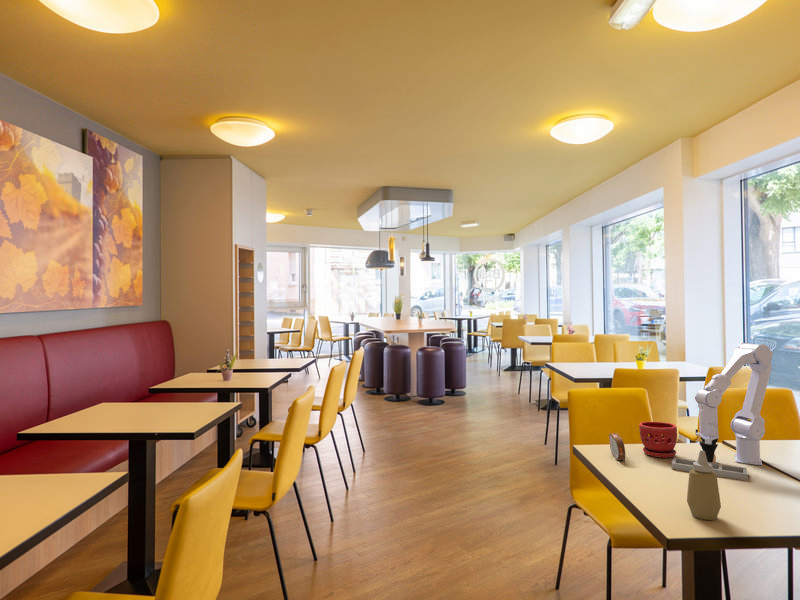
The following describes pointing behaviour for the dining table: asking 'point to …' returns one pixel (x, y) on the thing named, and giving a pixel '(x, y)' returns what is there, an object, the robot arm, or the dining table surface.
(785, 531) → the dining table surface
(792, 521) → the dining table surface
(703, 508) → the squeeze bottle
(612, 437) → the tin
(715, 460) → the egg
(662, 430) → the plant pot
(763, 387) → the robot arm
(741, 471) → the grey compartment tray
